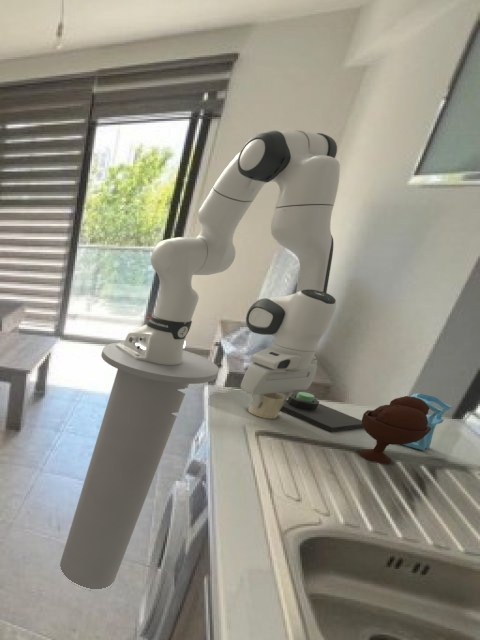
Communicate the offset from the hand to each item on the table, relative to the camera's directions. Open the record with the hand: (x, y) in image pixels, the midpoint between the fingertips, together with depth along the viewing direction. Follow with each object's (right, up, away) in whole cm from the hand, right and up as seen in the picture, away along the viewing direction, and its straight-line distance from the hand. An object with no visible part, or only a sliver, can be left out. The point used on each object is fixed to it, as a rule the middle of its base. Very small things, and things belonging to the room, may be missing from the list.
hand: (266, 406), depth 128 cm
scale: (+15, -3, +1) cm, 15 cm away
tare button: (+13, +2, +4) cm, 14 cm away
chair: (+26, -10, -10) cm, 29 cm away
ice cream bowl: (+10, -13, -18) cm, 24 cm away
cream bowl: (0, -2, +1) cm, 2 cm away
